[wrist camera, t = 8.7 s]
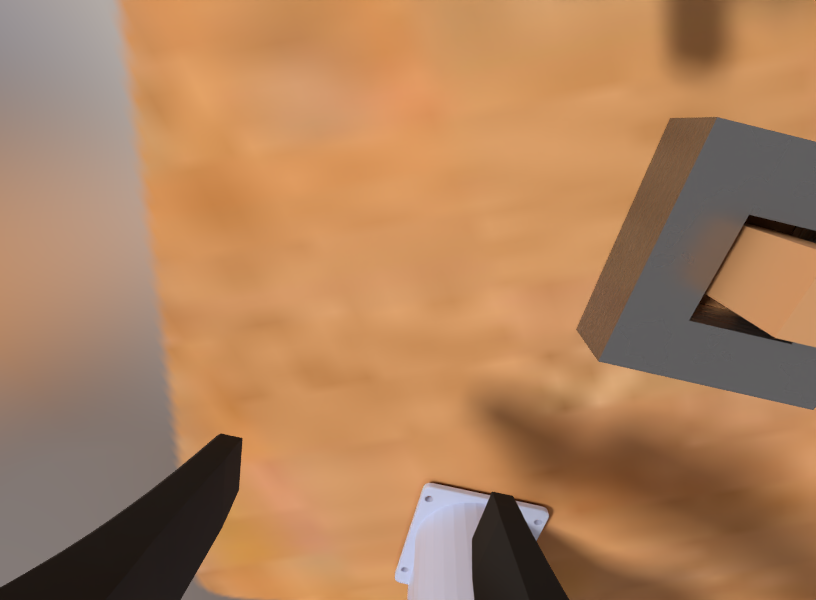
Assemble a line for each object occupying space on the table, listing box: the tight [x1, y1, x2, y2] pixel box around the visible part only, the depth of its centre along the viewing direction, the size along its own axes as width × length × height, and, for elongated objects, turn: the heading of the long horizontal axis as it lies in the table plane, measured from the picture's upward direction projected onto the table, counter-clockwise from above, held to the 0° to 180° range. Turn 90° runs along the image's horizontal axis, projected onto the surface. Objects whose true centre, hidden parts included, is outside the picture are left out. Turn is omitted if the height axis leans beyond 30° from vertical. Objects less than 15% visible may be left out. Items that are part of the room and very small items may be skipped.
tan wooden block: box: [705, 223, 816, 347], centre depth 16 cm, size 3×3×6 cm
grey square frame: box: [576, 117, 816, 410], centre depth 17 cm, size 10×10×3 cm
